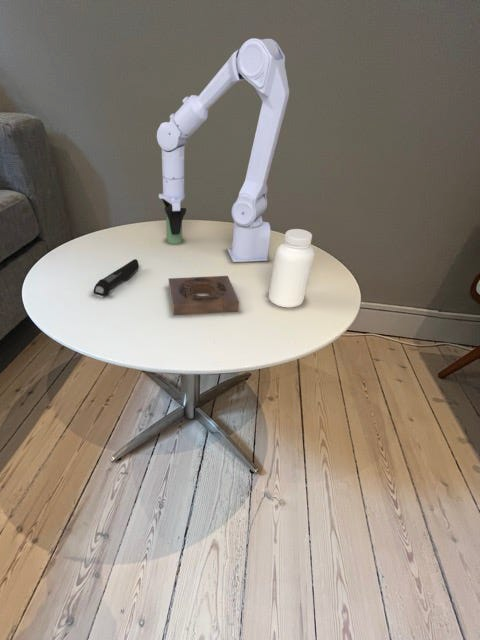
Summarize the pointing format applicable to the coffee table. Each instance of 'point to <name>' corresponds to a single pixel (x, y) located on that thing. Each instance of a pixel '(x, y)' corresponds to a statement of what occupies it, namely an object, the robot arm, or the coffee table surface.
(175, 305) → the brown wooden holder tray
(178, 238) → the bottle
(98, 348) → the coffee table surface
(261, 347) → the coffee table surface
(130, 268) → the electric trimmer
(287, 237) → the pill bottle
